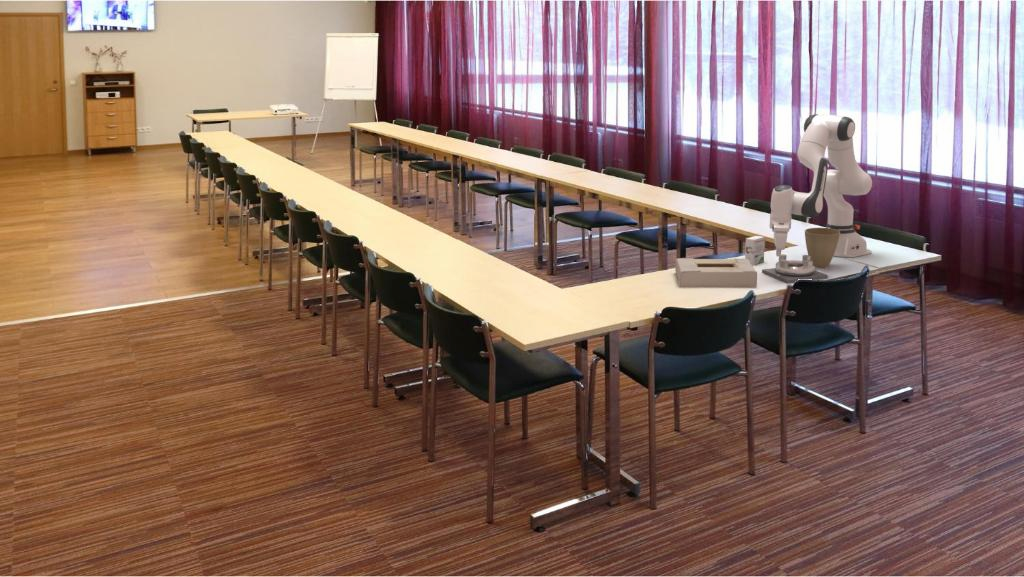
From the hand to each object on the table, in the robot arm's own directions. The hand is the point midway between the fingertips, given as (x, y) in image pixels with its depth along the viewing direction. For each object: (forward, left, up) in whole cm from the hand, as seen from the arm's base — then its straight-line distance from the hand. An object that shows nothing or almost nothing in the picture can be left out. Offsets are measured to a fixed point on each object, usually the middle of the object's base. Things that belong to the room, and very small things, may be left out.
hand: (778, 255), depth 409 cm
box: (+28, -4, -9) cm, 30 cm away
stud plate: (-6, +3, -9) cm, 11 cm away
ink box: (-3, -23, -9) cm, 25 cm away
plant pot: (-26, -7, -9) cm, 29 cm away
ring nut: (-6, +3, -7) cm, 10 cm away
